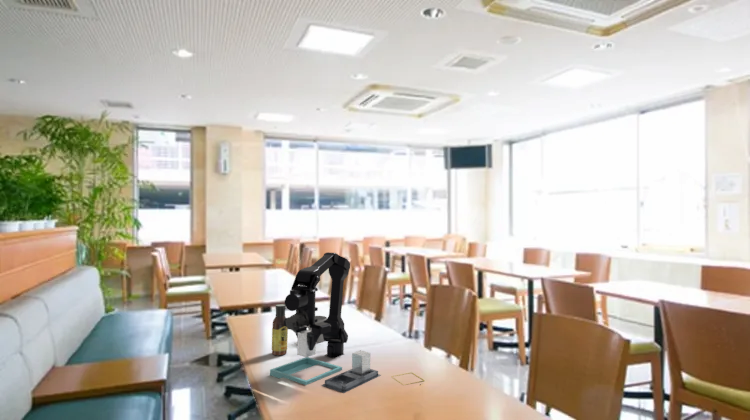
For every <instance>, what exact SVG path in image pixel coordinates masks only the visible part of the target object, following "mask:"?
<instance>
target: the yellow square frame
mask: <svg viewBox="0 0 750 420" xmlns="http://www.w3.org/2000/svg"><path fill="white" fill-rule="evenodd" d="M410 374H412V375H414V377H417V378H418V379H420V381H415V382H410V383H406V384H403V383H402V382H400V381H399V380H398V379H396V378H394V377H399V376H403V375H410ZM391 378H392V379H393V380H394V381H396V382H398V383H399V384H401V385H402V386H406V385H412V384H417V383H421V384H419V386H421V385H422V382H425V379H424V378H422V377H420V376H418V375H416V373H414V372H407V373H406V372H405V373H402V374H396V375H392V376H391Z"/></svg>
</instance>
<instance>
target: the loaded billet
mask: <svg viewBox="0 0 750 420" xmlns="http://www.w3.org/2000/svg"><path fill="white" fill-rule="evenodd" d="M351 369H352V374H356V375H359V376H362V377H363V376H365V375H367V374H369V373H370V369H371V352H369V351H365V350H362V349H361V350H358V351H354V352H352V355H351Z"/></svg>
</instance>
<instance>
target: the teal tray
mask: <svg viewBox="0 0 750 420" xmlns="http://www.w3.org/2000/svg"><path fill="white" fill-rule="evenodd" d="M317 365H320V366H323V367H326V368H329V369H331V370H328V371H325V372H323V373H321V374H318V375H316V376H314V377H311V378H309V379H303V378H300V377H298V376H295V375H294V374H296V373H299V372H301V371H304V370H307V369H309V368H311V367H314V366H317ZM341 371H343V367H342V366H339V365H337V364H332V363H330V362H326V361H322V360H319V359H316V358H313V357H310V356H309V357H302V358H299V359H296V360H294V361H290V362H288V363H285V364H282V365H280V366H276V367H273V368H271V369H269V376H271V377H274V378H277V379H283V378H284V379H287V380H290V381H293V382H296V383H298V384H301V385H305V386H307V385H309V384H312V383H314V382H317V381H319V380H321V379H324V378H326V377H329V376H331V375H334V374H336V373H338V372H341Z"/></svg>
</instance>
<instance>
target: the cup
mask: <svg viewBox="0 0 750 420" xmlns="http://www.w3.org/2000/svg"><path fill="white" fill-rule="evenodd" d="M327 318H328V317H327V316H325V315H315V319H317V322H315V324H317V323H321V322H324V320H326V319H327ZM307 330H310V331H311V328H307ZM323 342H325V341H324V339H323V334H321V335H320V336H319V338H318V340H317V342H316V344H318V343H323Z"/></svg>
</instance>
